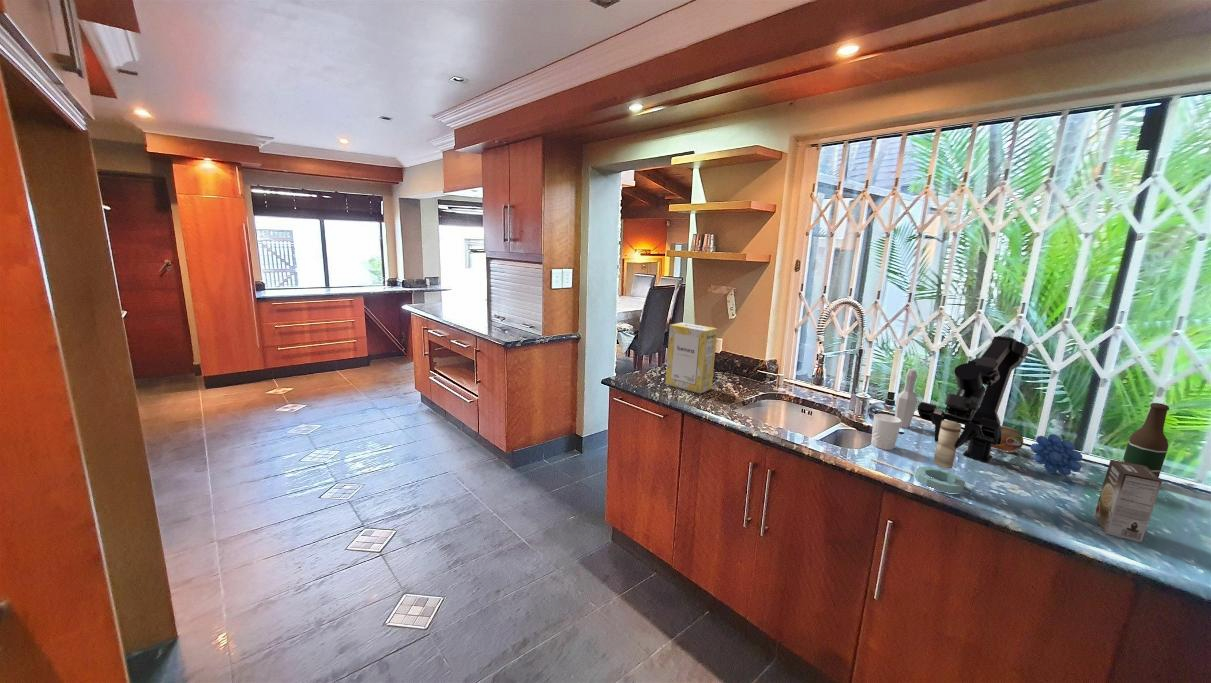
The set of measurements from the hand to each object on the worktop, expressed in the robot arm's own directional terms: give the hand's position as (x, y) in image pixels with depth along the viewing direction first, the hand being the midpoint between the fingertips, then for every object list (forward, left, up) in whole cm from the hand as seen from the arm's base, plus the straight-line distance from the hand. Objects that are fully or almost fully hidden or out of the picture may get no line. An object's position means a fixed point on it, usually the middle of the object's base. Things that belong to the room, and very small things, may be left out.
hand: (945, 444), depth 127 cm
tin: (-48, +3, -13) cm, 50 cm away
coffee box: (-12, +34, -13) cm, 38 cm away
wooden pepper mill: (-1, 0, -6) cm, 7 cm away
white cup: (-16, -20, -13) cm, 29 cm away
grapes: (-39, +19, -13) cm, 45 cm away
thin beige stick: (-1, -12, -12) cm, 17 cm away
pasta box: (-10, -100, -13) cm, 101 cm away
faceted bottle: (-43, -23, -13) cm, 51 cm away
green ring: (-1, 0, -12) cm, 12 cm away
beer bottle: (-57, +36, -13) cm, 69 cm away
